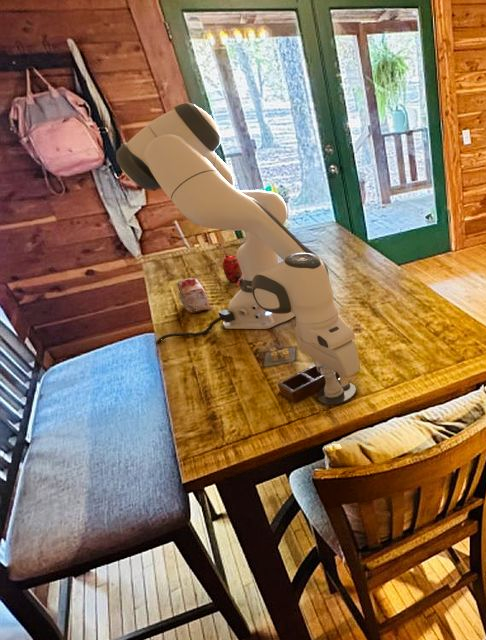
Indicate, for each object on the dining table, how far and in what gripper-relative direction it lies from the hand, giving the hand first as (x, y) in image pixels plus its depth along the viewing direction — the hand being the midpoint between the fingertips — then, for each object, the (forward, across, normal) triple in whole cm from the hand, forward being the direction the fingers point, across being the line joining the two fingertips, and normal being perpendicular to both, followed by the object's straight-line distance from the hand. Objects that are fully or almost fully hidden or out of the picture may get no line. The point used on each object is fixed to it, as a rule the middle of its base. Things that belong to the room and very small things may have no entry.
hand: (333, 378), depth 116 cm
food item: (+5, -83, +1) cm, 84 cm away
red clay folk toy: (+5, -97, +21) cm, 99 cm away
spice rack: (+5, -8, +1) cm, 10 cm away
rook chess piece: (+4, 0, -1) cm, 4 cm away
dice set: (+5, -28, +1) cm, 29 cm away
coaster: (+5, 0, 0) cm, 5 cm away
